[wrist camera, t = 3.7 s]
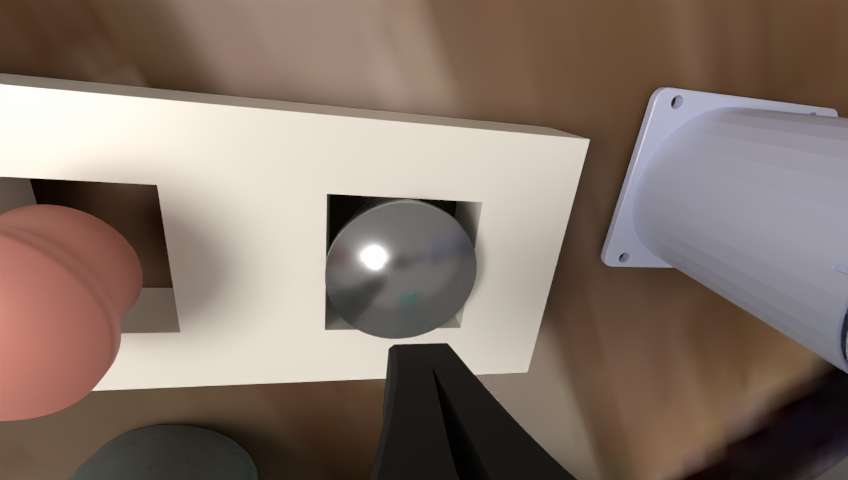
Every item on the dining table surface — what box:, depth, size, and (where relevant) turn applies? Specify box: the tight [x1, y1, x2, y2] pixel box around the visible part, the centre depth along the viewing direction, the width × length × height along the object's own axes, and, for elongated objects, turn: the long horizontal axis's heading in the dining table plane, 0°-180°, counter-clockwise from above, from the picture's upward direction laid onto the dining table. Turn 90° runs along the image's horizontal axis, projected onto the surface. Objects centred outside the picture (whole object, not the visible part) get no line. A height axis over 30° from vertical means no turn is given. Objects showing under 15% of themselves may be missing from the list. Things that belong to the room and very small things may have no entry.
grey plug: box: [325, 197, 477, 339], centre depth 15 cm, size 5×5×3 cm
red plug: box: [0, 204, 143, 421], centre depth 10 cm, size 5×5×3 cm
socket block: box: [0, 73, 590, 391], centre depth 14 cm, size 22×10×3 cm, turn 83°
